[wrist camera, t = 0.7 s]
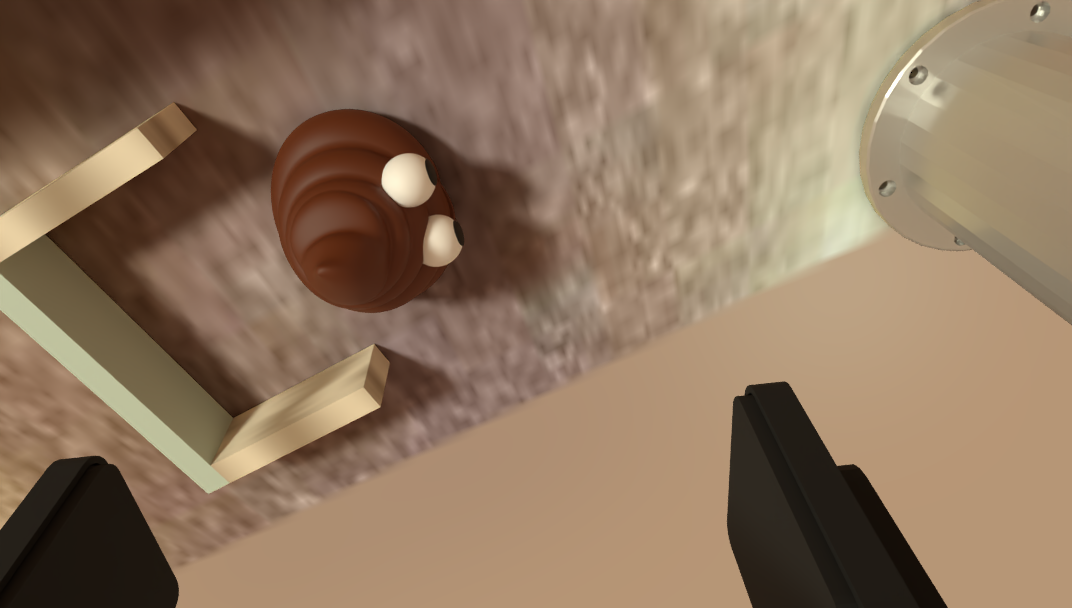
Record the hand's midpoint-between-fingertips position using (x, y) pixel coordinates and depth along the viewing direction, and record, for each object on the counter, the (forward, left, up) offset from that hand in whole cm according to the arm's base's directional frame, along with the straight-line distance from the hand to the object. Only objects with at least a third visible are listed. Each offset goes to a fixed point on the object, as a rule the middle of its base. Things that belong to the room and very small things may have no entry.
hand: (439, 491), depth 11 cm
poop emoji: (+7, +2, -26) cm, 27 cm away
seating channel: (+17, +2, -26) cm, 31 cm away
